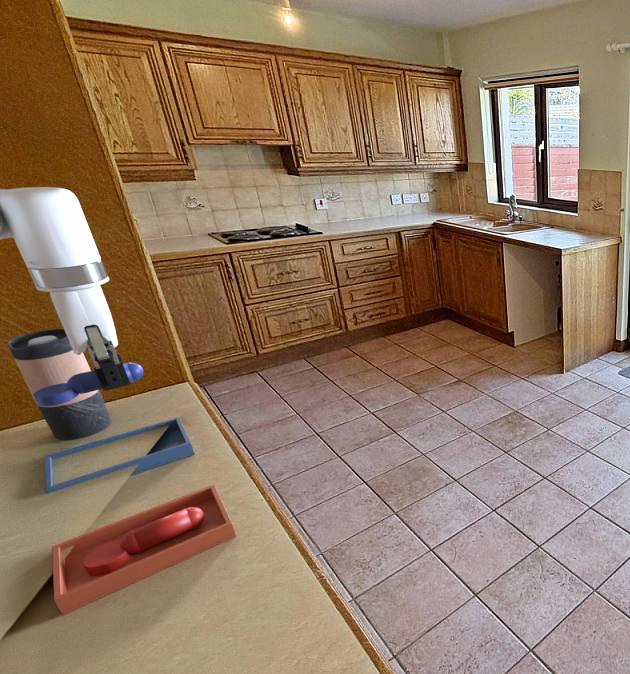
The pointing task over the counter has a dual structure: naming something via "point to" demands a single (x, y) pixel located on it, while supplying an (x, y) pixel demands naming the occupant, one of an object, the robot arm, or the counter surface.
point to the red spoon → (141, 541)
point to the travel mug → (56, 368)
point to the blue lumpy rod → (79, 386)
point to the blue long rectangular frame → (164, 451)
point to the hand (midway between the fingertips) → (115, 381)
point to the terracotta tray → (83, 588)
